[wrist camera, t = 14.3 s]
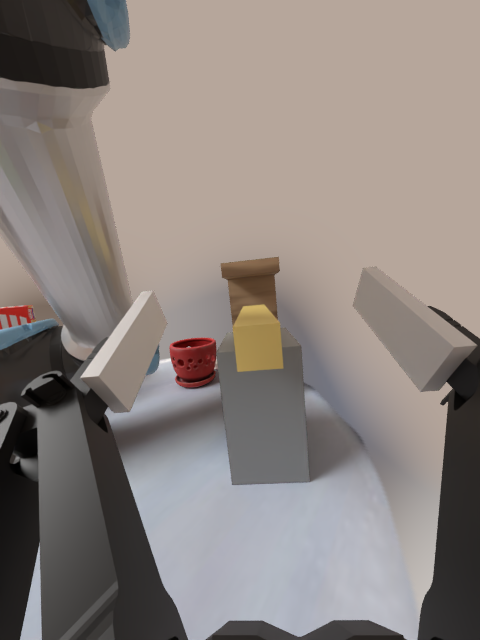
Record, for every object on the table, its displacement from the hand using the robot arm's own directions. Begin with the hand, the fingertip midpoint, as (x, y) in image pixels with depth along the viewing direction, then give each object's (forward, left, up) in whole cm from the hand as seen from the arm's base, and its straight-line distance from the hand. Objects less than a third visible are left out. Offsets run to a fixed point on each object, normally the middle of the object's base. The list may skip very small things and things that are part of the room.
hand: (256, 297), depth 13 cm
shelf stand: (-16, +27, -24) cm, 40 cm away
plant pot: (-38, +28, -25) cm, 53 cm away
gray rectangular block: (-8, +13, -24) cm, 29 cm away
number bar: (-7, +13, -6) cm, 16 cm away
